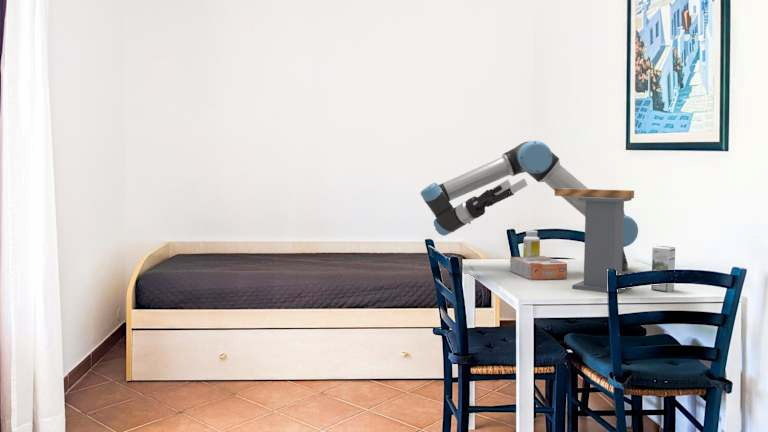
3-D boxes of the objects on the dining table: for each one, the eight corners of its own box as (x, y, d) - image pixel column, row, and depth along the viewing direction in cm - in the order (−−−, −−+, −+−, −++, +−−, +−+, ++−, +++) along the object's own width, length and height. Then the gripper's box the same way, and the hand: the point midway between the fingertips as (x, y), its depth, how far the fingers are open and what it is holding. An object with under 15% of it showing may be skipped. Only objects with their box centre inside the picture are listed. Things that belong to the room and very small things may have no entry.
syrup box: (674, 289, 261) (676, 246, 260) (667, 292, 257) (669, 248, 256) (657, 287, 265) (659, 245, 264) (650, 290, 261) (652, 246, 260)
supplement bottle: (542, 261, 329) (542, 230, 328) (535, 263, 323) (536, 231, 322) (527, 259, 333) (527, 229, 332) (520, 261, 327) (521, 230, 326)
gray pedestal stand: (572, 288, 263) (574, 197, 261) (586, 282, 275) (588, 195, 272) (620, 293, 254) (622, 199, 252) (632, 287, 266) (635, 197, 263)
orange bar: (554, 195, 270) (554, 188, 270) (558, 195, 273) (558, 188, 272) (630, 198, 256) (631, 190, 255) (634, 198, 258) (634, 190, 258)
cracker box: (544, 254, 302) (568, 262, 282) (543, 270, 303) (567, 279, 283) (509, 255, 299) (531, 264, 279) (509, 271, 300) (531, 280, 280)
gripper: (490, 216, 299) (536, 190, 288) (459, 221, 278) (507, 193, 267) (481, 199, 301) (527, 172, 290) (450, 202, 280) (498, 173, 269)
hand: (518, 182), depth 278 cm, fingers open, 13 cm apart
